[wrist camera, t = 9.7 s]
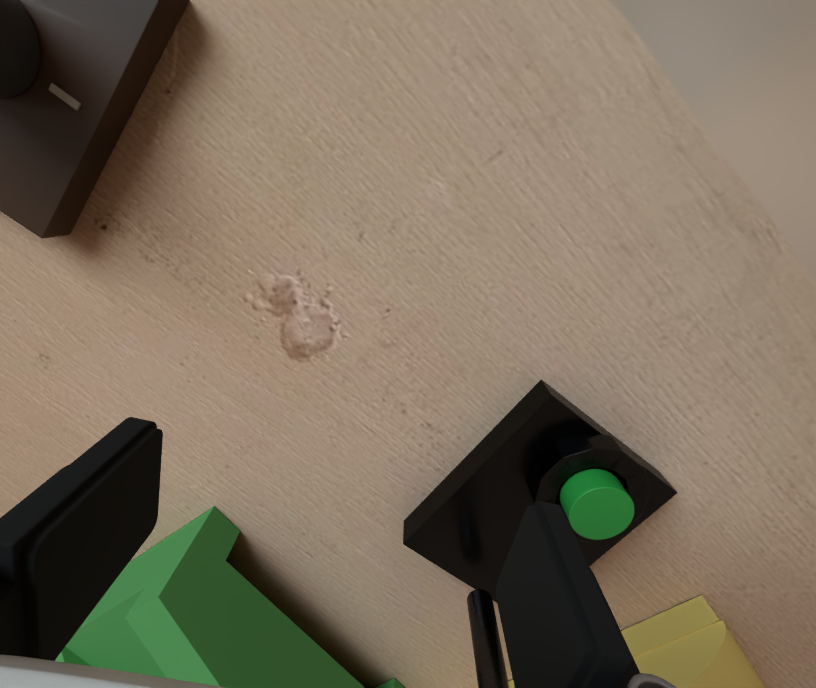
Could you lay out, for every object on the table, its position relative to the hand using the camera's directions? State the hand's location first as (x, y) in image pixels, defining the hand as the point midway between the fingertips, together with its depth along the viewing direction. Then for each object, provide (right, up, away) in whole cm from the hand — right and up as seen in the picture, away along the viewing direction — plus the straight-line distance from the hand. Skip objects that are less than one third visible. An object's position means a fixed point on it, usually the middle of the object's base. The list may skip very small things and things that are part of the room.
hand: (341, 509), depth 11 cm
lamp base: (+10, -6, +20) cm, 23 cm away
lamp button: (+12, -5, +15) cm, 20 cm away
